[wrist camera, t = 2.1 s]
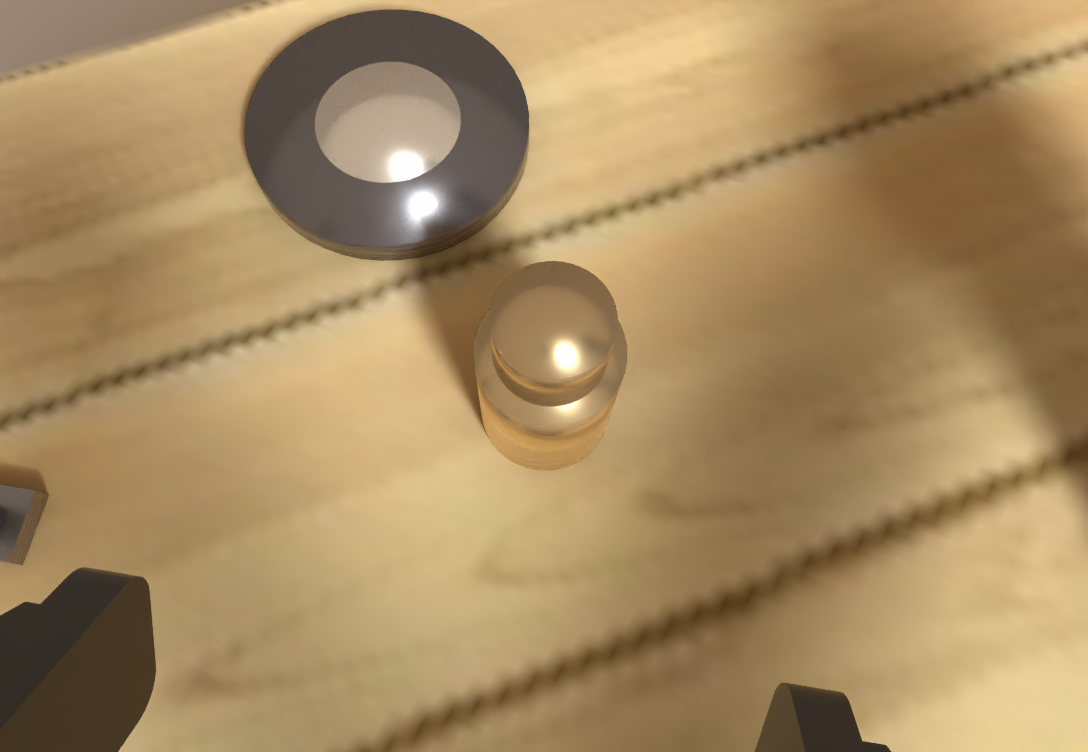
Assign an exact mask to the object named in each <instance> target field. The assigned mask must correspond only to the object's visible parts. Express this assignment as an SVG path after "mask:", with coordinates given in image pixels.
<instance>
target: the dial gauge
mask: <svg viewBox="0 0 1088 752" xmlns="http://www.w3.org/2000/svg"><path fill="white" fill-rule="evenodd" d="M47 498H48V495H46V494H44V493H41V492H39V491H36V490H31V489H25V488H19V487H13V486H7V485H1V484H0V561H1V562H7V563H13V564H18V565H23V562H24V559H25V557H26V554H27V551H28V549H29V546H30V543H31V541H32V538H33V535H34V532H35V530H36V527H37V524H38V522H39V519H40V516H41V514H42V511H43V508H44V506H45V503H46V500H47Z"/></svg>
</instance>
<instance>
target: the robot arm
mask: <svg viewBox="0 0 1088 752" xmlns="http://www.w3.org/2000/svg"><path fill="white" fill-rule="evenodd" d="M155 674H156V662H155V650H154V638H153V626H152V614H151V602H150V591H149V586H148V583H147V581H146V580H145V579H144V578H143V577H139V576H133V575H127V574H121V573H115V572H109V571H103V570H97V569H91V568H86V567H85V568H79V569H77V570H75V571H74V572H72V573H71V574H70V575H69V576H68V577H67V578H66V579H65V580H64V581H63V582H62V583H61V584H60V585H59V586H58V587H57V588H56V589H55V590H54V591H53V592H52V593H51V594H50V595H49V596H48V597H47V598H46V599H45V600H44V601H43V602H42V603H41V604H35V603H30V602H24V603H22V604H20V605H19V606H17V607H15V608H13V609H12V610H10V611H8V612H6V613H4V614H3V615H1V616H0V752H118V751H119V750H120V748H121V747H122V745H123V744H124V742H125V741H126V739H127V738H128V736H129V735H130V733H131V732H132V730H133V729H134V728H135V726H136V725H137V723H138V722H139V720H140V718H141V717H142V715H143V713H144V711H145V709H146V707H147V704H148V702H149V699H150V697H151V693H152V690H153V686H154V681H155ZM755 752H891V751H890V750H889V748H888V747H887V746H886V745H882V744H876V743H870V742H864V741H862V739H861V736H860V733H859V730H858V727H857V724H856V721H855V718H854V715H853V712H852V709H851V706H850V703H849V700H848V699H847V697H846V696H845V695H844V694H843V693H841V692H836V691H831V690H825V689H819V688H813V687H807V686H801V685H795V684H789V683H781V684H779V685H778V687H777V689H776V690H775V693H774V696H773V699H772V702H771V705H770V708H769V711H768V714H767V716H766V719H765V722H764V725H763V728H762V731H761V734H760V737H759V740H758V743H757V746H756V749H755Z"/></svg>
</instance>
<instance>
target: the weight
mask: <svg viewBox="0 0 1088 752" xmlns="http://www.w3.org/2000/svg"><path fill="white" fill-rule="evenodd" d="M473 358H474V365H475V372H476V379H477V386H478V394H479V401H480V408H481V415H482V422H483V425H484V428H485V431H486V433H487V435H488V437H489V439H490V441H491V442H492V444H493V445H494V446H495V447H496V449H497V450H498V451H499V452H500V453H501V454H503V455H504V456H505V457H506V458H508V459H509V460H511V461H513V462H514V463H516V464H518V465H521V466H524V467H526V468H531V469H536V470H554V469H560V468H564V467H567V466H570V465H572V464H574V463H576V462H578V461H579V460H581V459H583V458H584V457H585V456H586V455H588V454H589V453H590V452H591V451H592V450H593V449H594V448H595V446H596V445H597V443H598V442H599V441H600V439H601V437H602V435H603V433H604V430H605V427H606V424H607V422H608V419H609V416H610V413H611V410H612V407H613V405H614V402H615V399H616V396H617V393H618V390H619V387H620V385H621V382H622V379H623V376H624V373H625V369H626V364H627V344H626V340H625V335H624V333H623V330H622V327H621V325H620V323H619V321H618V317H617V310H616V305H615V303H614V300H613V298H612V296H611V294H610V292H609V291H608V289H607V288H606V286H605V285H604V284H603V283H602V282H601V281H600V280H599V279H598V278H597V277H596V276H595V275H593V274H592V273H590V272H589V271H587V270H585V269H583V268H581V267H579V266H576V265H573V264H570V263H565V262H558V261H546V262H539V263H535V264H531V265H529V266H526V267H524V268H522V269H520V270H518V271H516V272H515V273H514V274H512V275H511V276H510V277H509V278H508V279H506V280H505V281H504V283H503V284H502V285H501V286H500V287H499V289H498V291H497V292H496V294H495V296H494V299H493V301H492V305H491V308H490V309H489V310H488V311H487V312H486V314H485V315H484V317H483V319H482V320H481V322H480V325H479V327H478V329H477V332H476V336H475V340H474V347H473Z"/></svg>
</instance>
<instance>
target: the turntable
mask: <svg viewBox="0 0 1088 752" xmlns="http://www.w3.org/2000/svg"><path fill="white" fill-rule="evenodd" d="M245 144H246V150H247V154H248V159H249V162H250V165H251V167H252V170H253V172H254V175H255V177H256V179H257V181H258V183H259V185H260V187H261V188H262V190H263V192H264V194H265V196H266V197H267V199H268V201H269V202H270V204H271V206H272V207H273V209H274V210H275V211H276V212H277V213H278V215H279V216H280V217H281V218H282V219H283V220H284V221H285V222H286V223H287V224H288V225H289V226H290V227H291V228H292V229H294V230H295V231H296V232H297V233H299V234H300V235H302V236H303V237H305V238H306V239H308V240H309V241H311V242H313V243H315V244H317V245H319V246H321V247H323V248H325V249H328V250H331V251H334V252H337V253H339V254H342V255H347V256H351V257H356V258H360V259H370V260H402V259H409V258H417V257H421V256H425V255H429V254H433V253H436V252H439V251H441V250H444V249H447V248H449V247H452V246H454V245H456V244H458V243H460V242H462V241H463V240H465V239H467V238H469V237H471V236H472V235H473V234H475V233H476V232H478V231H479V230H481V229H482V228H483V227H485V226H486V225H487V224H488V223H489V222H490V221H491V220H492V219H494V218H495V217H496V216H497V215H498V213H499V212H500V211H501V210H502V209H503V208H504V206H505V205H506V204H507V203H508V201H509V200H510V198H511V197H512V195H513V193H514V192H515V190H516V189H517V186H518V184H519V182H520V180H521V177H522V175H523V172H524V168H525V165H526V161H527V155H528V147H529V111H528V106H527V101H526V96H525V93H524V90H523V88H522V85H521V82H520V80H519V78H518V77H517V75H516V73H515V71H514V69H513V68H512V66H511V65H510V64H509V62H508V61H507V60H506V58H505V57H504V56H503V55H502V54H501V53H500V52H499V51H498V50H497V49H496V48H495V47H494V46H493V45H492V44H491V43H490V42H488V41H487V40H486V39H484V38H483V37H482V36H481V35H479V34H477V33H476V32H474V31H472V30H471V29H469V28H467V27H466V26H463V25H461V24H459V23H457V22H454V21H452V20H450V19H446V18H443V17H440V16H437V15H433V14H428V13H423V12H419V11H409V10H377V11H368V12H362V13H357V14H353V15H348V16H345V17H342V18H339V19H336V20H333V21H330V22H328V23H326V24H323V25H321V26H319V27H317V28H315V29H313V30H311V31H310V32H308V33H306V34H305V35H303V36H301V37H300V38H298V39H297V40H296V41H294V42H293V43H292V44H290V45H289V46H288V47H287V48H286V49H285V50H284V51H282V52H281V53H280V54H279V55H278V56H277V57H276V58H275V59H274V61H273V62H272V63H271V64H270V66H269V67H268V68H267V69H266V70H265V72H264V74H263V75H262V77H261V78H260V80H259V82H258V83H257V85H256V87H255V90H254V92H253V94H252V97H251V99H250V103H249V106H248V110H247V114H246V122H245Z"/></svg>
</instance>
